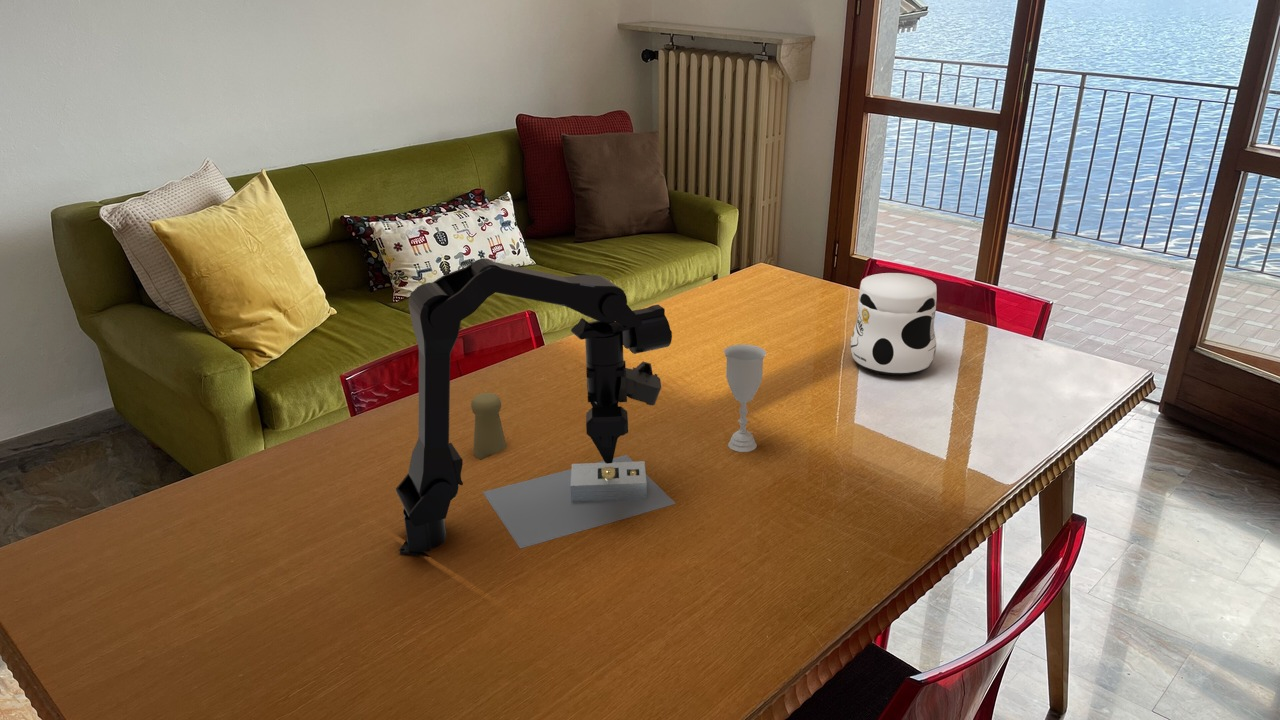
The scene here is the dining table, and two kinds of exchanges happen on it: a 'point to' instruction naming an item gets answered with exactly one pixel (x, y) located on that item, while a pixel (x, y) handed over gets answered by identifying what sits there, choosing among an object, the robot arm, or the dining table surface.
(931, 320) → the milk container
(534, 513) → the mount board
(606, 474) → the pair of brass cylinders
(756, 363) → the chalice
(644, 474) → the silver rectangular block
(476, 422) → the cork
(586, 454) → the dining table surface
